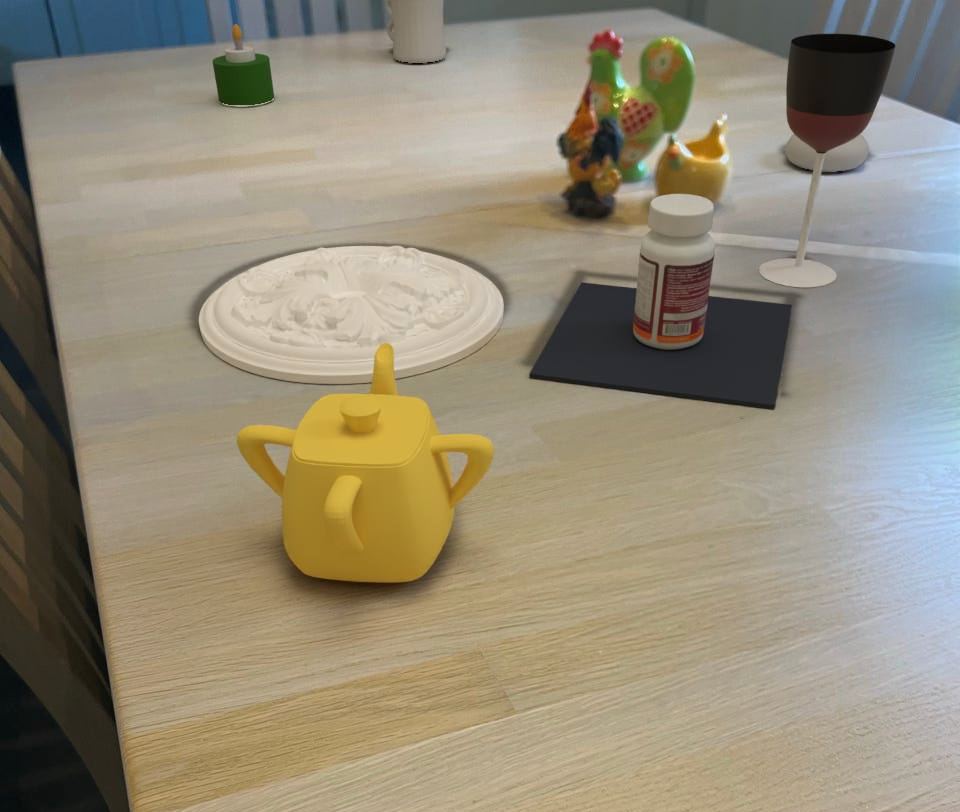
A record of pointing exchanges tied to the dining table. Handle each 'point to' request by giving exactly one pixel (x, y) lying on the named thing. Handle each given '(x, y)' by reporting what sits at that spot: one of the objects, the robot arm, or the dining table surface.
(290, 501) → the teapot
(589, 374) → the mat
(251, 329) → the ceiling medallion
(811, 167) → the donut
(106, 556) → the dining table surface
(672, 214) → the pill bottle
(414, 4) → the mug
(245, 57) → the candle
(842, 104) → the wineglass
